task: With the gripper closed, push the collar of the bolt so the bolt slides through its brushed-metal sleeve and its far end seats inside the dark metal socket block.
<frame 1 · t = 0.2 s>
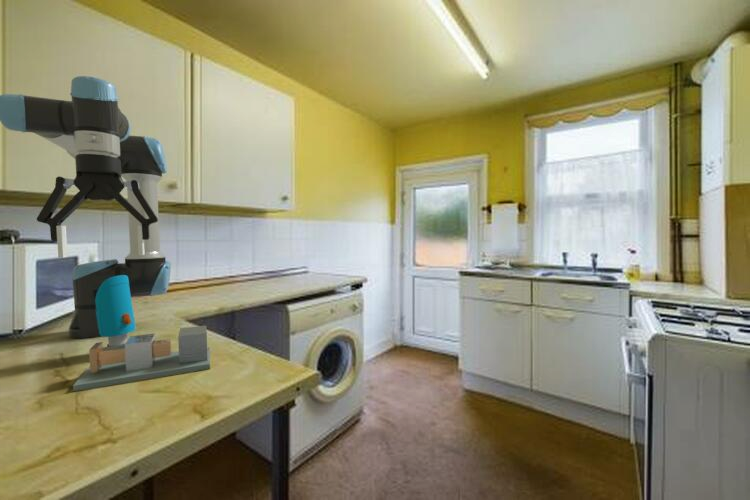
hand: (104, 256, 74), 28 cm above the counter, fingers open, 13 cm apart
sleeve: (142, 370, 82), resting on board
board: (150, 368, 83), on the counter
security camera: (117, 353, 94), on the counter
bolt: (133, 352, 81), point 5 cm above the counter, slide at 0.0 cm
socket: (194, 362, 87), resting on board
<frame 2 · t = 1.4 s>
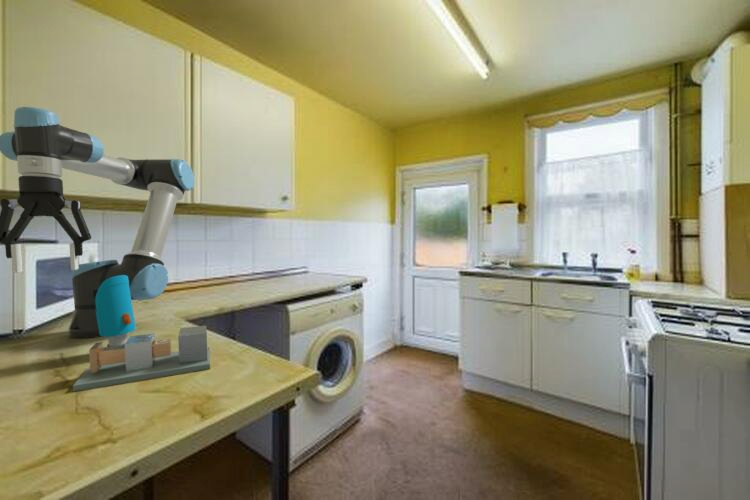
hand: (47, 270, 83), 24 cm above the counter, fingers open, 10 cm apart
nothing on the counter moved.
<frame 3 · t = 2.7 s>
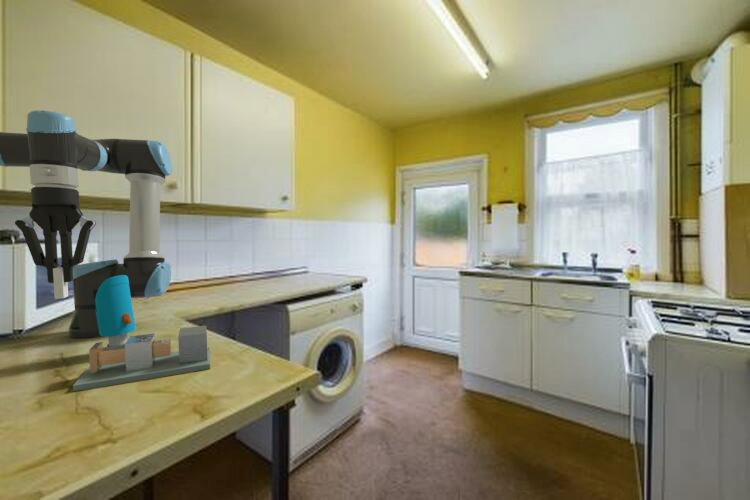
hand: (61, 297, 75), 19 cm above the counter, fingers closed
nothing on the counter moved.
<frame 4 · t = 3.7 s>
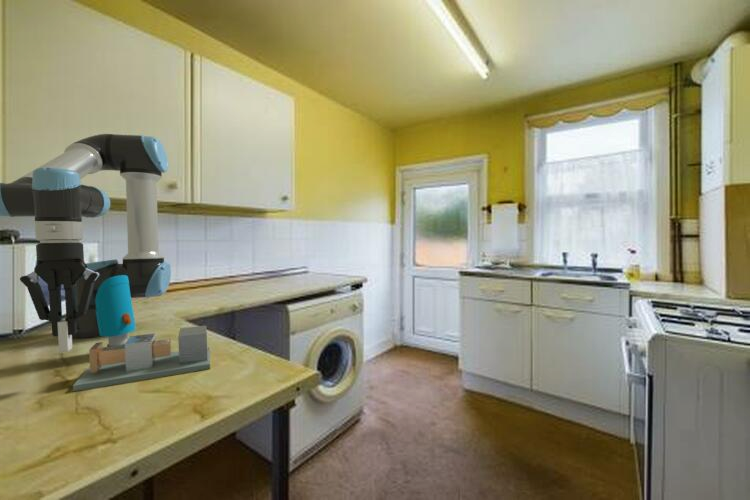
hand: (65, 349, 75), 7 cm above the counter, fingers closed
nothing on the counter moved.
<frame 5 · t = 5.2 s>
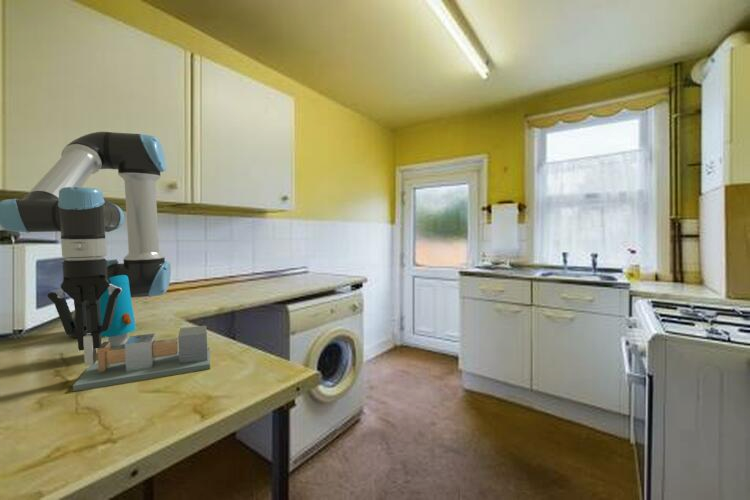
hand: (91, 363, 77), 3 cm above the counter, fingers closed
bolt: (140, 351, 82), point 5 cm above the counter, slide at 1.4 cm, touching gripper
everything else where it was.
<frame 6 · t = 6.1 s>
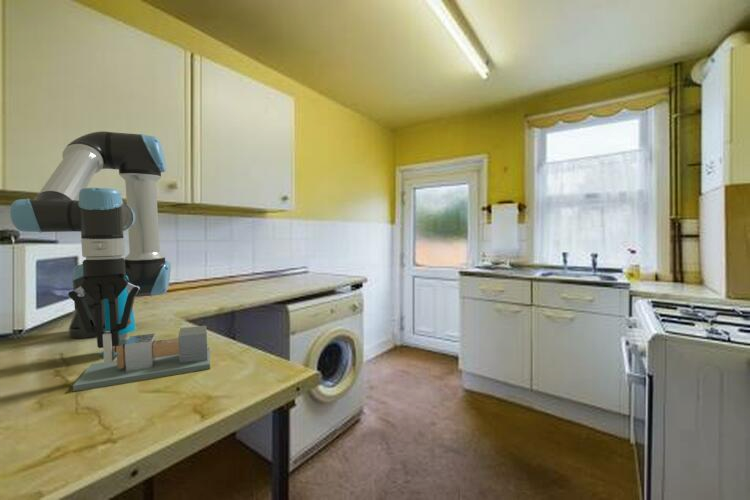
hand: (109, 360, 79), 3 cm above the counter, fingers closed
bolt: (157, 348, 83), point 5 cm above the counter, slide at 4.8 cm, touching gripper
everything else where it was.
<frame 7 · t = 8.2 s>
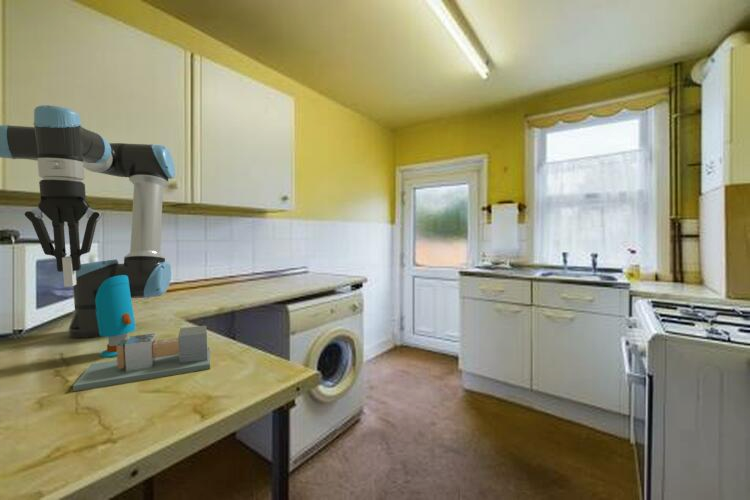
hand: (70, 285, 78), 21 cm above the counter, fingers closed
bolt: (157, 348, 83), point 5 cm above the counter, slide at 4.8 cm
everything else where it was.
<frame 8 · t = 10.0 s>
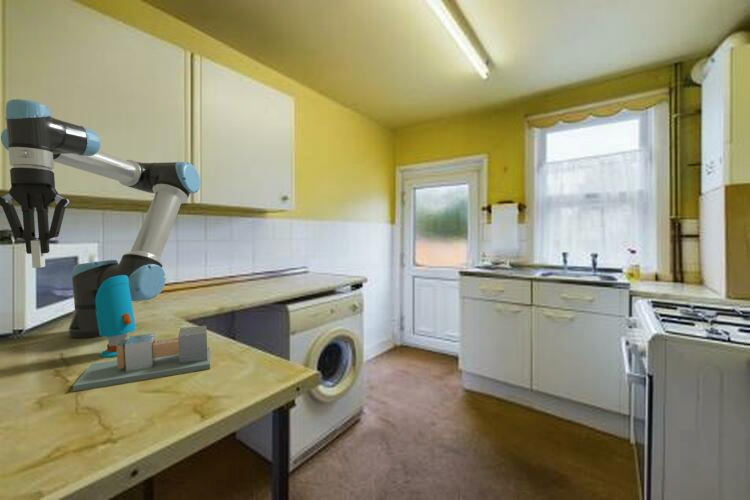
hand: (39, 267, 84), 24 cm above the counter, fingers closed
nothing on the counter moved.
at the end: bolt slide at 4.8 cm; the gripper is holding nothing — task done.
